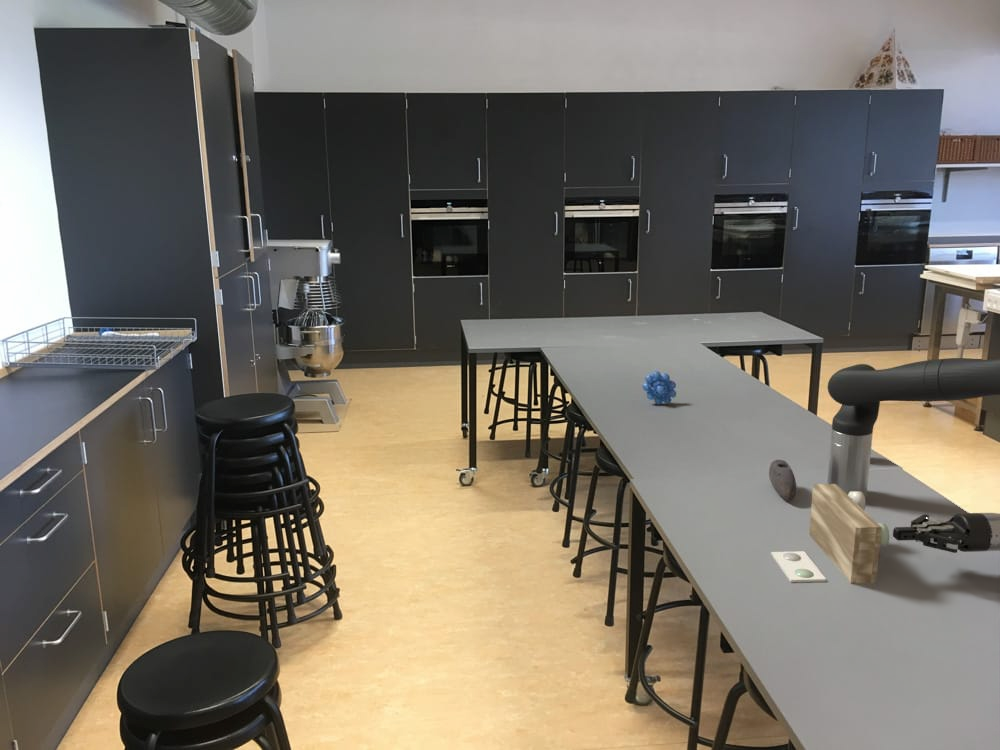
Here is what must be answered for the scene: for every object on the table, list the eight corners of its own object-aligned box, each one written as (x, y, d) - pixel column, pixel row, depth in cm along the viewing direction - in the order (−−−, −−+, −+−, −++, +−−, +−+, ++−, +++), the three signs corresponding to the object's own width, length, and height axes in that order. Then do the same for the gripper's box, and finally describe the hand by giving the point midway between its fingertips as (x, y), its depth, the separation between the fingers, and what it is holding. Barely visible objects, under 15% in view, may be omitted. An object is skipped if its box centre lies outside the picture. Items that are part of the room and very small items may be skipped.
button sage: (878, 539, 163) (880, 519, 162) (888, 549, 159) (890, 528, 158) (849, 540, 163) (851, 519, 162) (859, 550, 159) (861, 529, 158)
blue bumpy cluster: (643, 408, 277) (644, 374, 274) (641, 402, 284) (642, 369, 281) (678, 408, 276) (679, 374, 273) (675, 402, 283) (676, 369, 280)
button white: (855, 506, 179) (857, 488, 178) (864, 515, 174) (866, 496, 173) (830, 507, 179) (831, 488, 178) (838, 515, 174) (839, 496, 173)
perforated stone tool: (800, 506, 196) (802, 480, 194) (778, 506, 197) (780, 479, 195) (787, 483, 210) (789, 458, 208) (766, 482, 211) (768, 457, 209)
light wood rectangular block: (831, 533, 181) (835, 483, 178) (875, 582, 160) (881, 527, 157) (809, 534, 181) (813, 484, 178) (850, 583, 160) (855, 527, 157)
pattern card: (771, 554, 173) (771, 551, 172) (803, 553, 172) (804, 550, 172) (790, 582, 161) (790, 579, 161) (825, 581, 161) (826, 578, 161)
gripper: (966, 501, 166) (881, 503, 166) (1005, 529, 153) (913, 531, 153) (962, 534, 168) (878, 536, 168) (999, 565, 155) (909, 567, 155)
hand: (895, 533), depth 160 cm, fingers closed
